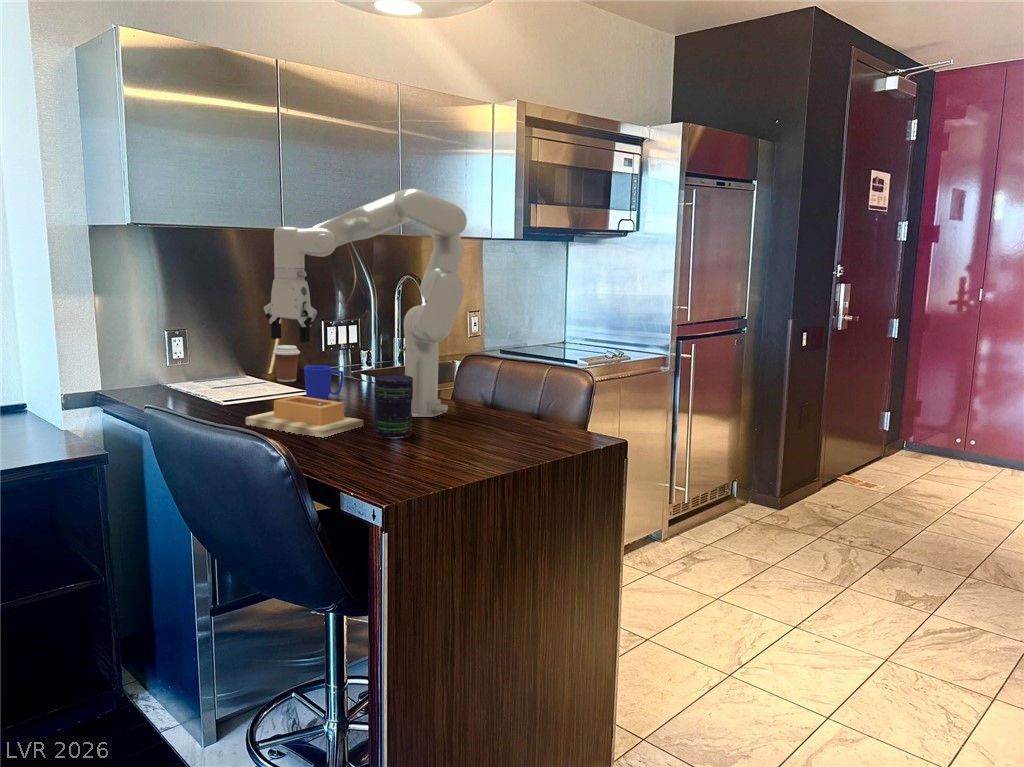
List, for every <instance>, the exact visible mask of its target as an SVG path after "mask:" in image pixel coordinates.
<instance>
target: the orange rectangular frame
mask: <svg viewBox="0 0 1024 767" xmlns="http://www.w3.org/2000/svg"><path fill="white" fill-rule="evenodd" d="M317 402H322V403H324V405H323V406H317V405H315V403H317ZM273 411H274V417H275V418H281V419H287V420H292V421H298V422H303V423H309V424H315V425H320V426H322V425H326V424H329V423H333V422H337V421H340V420H344V417H345V402H342V401H340V402H339V401H335V400H328V399H325V400H323V399H316V398H310V397H307V396H303V395H294V396H289V397H285V398H279V399H275V400H273Z"/></svg>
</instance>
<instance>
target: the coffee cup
mask: <svg viewBox="0 0 1024 767" xmlns="http://www.w3.org/2000/svg"><path fill="white" fill-rule="evenodd" d="M272 354H273V355H274V358H275V359H274V360H275V370H276V380H277V382H283V383H284V382H285V383H290V382H296V381H297V376H298V374H297V373H298V361H299V355H300V354H301V351H300V350H299V349H298V346H296V345H292V344H291V345H290V344H280V345H276V346H275V349H274V350H273V351H272Z"/></svg>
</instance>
